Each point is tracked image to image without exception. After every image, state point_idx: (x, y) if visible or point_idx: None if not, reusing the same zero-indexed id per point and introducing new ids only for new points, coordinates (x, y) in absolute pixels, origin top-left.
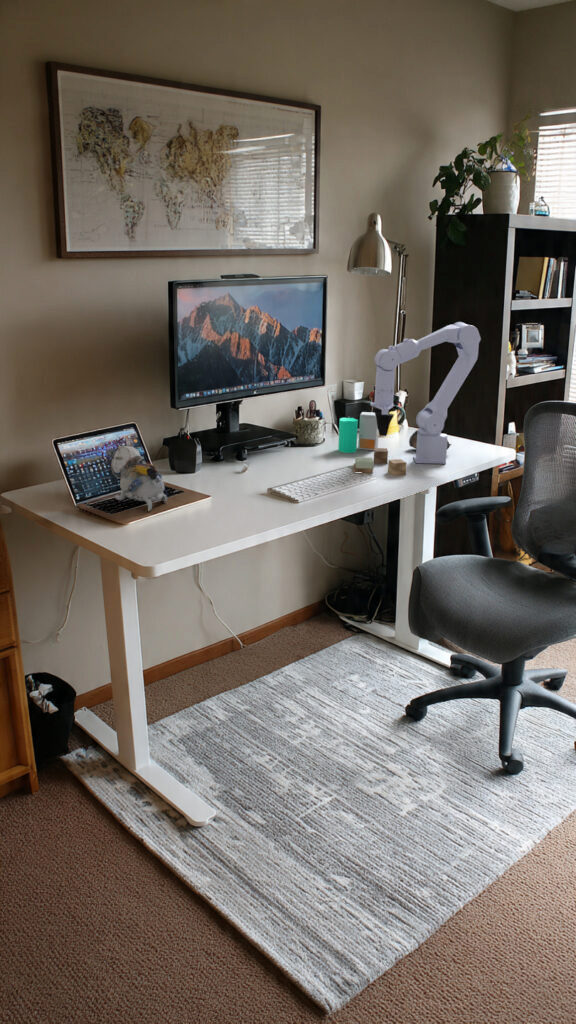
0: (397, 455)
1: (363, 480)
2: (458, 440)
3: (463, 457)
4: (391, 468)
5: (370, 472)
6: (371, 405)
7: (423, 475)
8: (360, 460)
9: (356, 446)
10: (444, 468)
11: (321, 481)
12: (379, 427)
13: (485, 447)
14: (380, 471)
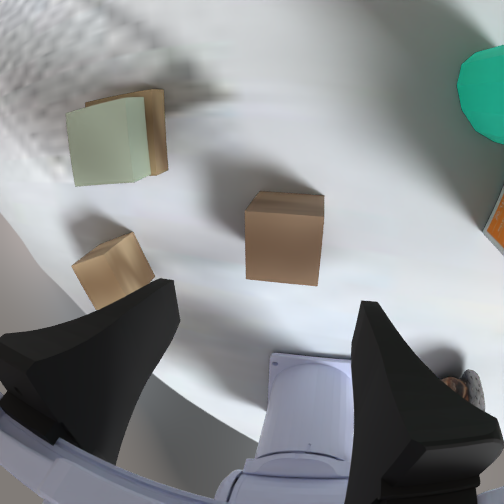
0: (398, 312)
1: (41, 143)
2: None
3: None
4: (100, 249)
5: None
6: (52, 464)
7: None
8: (82, 127)
9: (501, 142)
10: (223, 399)
11: (26, 24)
12: (111, 309)
13: None
14: (137, 204)
